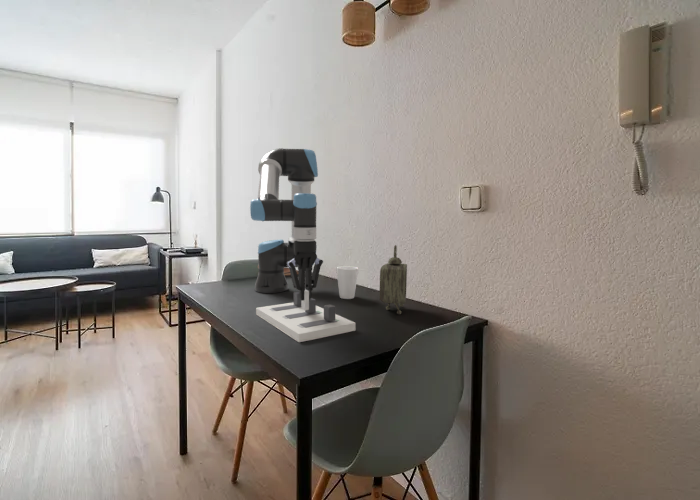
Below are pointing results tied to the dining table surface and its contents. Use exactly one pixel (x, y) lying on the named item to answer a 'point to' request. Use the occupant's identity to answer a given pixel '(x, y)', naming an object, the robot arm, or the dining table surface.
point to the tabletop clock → (393, 282)
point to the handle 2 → (329, 312)
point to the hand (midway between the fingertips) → (305, 309)
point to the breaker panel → (303, 322)
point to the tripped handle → (311, 306)
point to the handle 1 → (297, 299)
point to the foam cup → (347, 281)
